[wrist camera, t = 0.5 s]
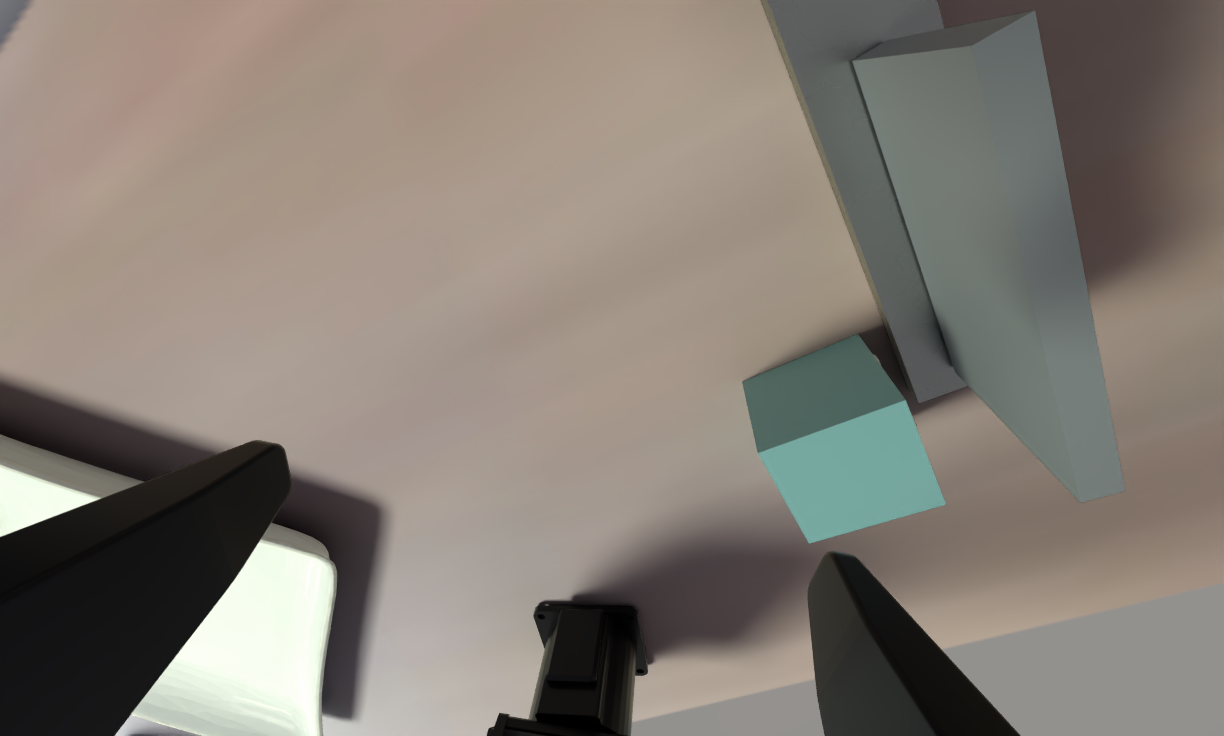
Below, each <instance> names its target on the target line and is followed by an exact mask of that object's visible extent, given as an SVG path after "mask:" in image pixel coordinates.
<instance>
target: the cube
mask: <svg viewBox="0 0 1224 736" xmlns="http://www.w3.org/2000/svg"><path fill="white" fill-rule="evenodd" d="M742 383H743V388H744V392H745V397H746V401H747V406H748V410H749V415H750V419H751V424H752V428H753V433H754V438H755V442H756V447H757V451H758V454H759V456H760V458H761V459H762V461H763V463H764V465H765V467H766V468H767V470H768V472H769V474H770V475H771V477H772V479H773V481H774V483H775V484H776V486H777V488H778V490H779V491H780V493H781V495H782V497H783V498H784V500H785V502H786V504H787V506H788V507H789V509H790V511H791V513H792V514H793V516H794V518H795V520H796V522H797V523H798V525H799V527H800V529H801V530H802V532H803V534H804V536H805V538H806V539H807V541H808V543H809V544H810V543H813V542H817V541H820V540H824V539H827V538H831V537H834V536H838V535H841V534H845V533H848V532H852V531H855V530H859V529H862V528H866V527H869V526H873V525H876V524H880V523H883V522H887V521H890V520H894V519H897V518H901V517H904V516H908V515H911V514H915V513H918V512H922V511H925V510H929V509H932V508H936V507H939V506H943V505H946V503H945V500H944V498H943V495H942V493H941V490H940V487H939V485H938V482H937V480H936V477H935V475H934V472H933V469H932V467H931V464H930V462H929V459H928V456H927V454H926V451H925V449H924V446H923V444H922V441H921V438H920V436H919V433H918V431H917V428H916V426H917V425H916V423H915V420H914V417H913V415H912V414H911V412H910V410H909V407H908V405H907V402H906V400H905V398H904V397H903V396H902V394H901V393H900V391H899V390H898V389H897V387H896V386H895V385H894V383H893V382H892V380H891V379H890V378H889V376H888V375H887V373H886V372H885V371H884V369H883V368H882V366H881V363H880V361H879V359H878V358H877V357H876V355H873V354H872V353H871V351H870V350H869V349H868V347H867V346H866V344H865V343H864V342H863V340H862V339H861V337H860V336H859V335H858V334H856V335H854V336H851V337H849V338H847V339H844V340H842V341H839V342H837V343H835V344H832V345H830V346H827V347H825V348H822V349H820V350H818V351H815V352H813V353H810V354H808V355H806V356H803V357H801V358H798V359H796V360H793V361H791V362H789V363H786V364H784V365H781V366H779V367H777V368H774V369H772V370H769V371H767V372H764V373H762V374H760V375H757V376H755V377H752V378H750V379H748V380H745V381H743V382H742Z"/></svg>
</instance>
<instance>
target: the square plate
mask: <svg viewBox="0 0 1224 736" xmlns="http://www.w3.org/2000/svg"><path fill="white" fill-rule="evenodd" d="M140 483H143V481H140V480H137V479H134V478H131V477H127V476H124V475H121V474H118V473H115V472H112V471H109V470H106V469H103V468H99V467H96V466H93V465H90V464H87V463H84V462H81V461H78V460H75V459H72V458H68V457H65V456H62V455H59V454H56V453H53V452H50V451H47V450H44V449H41V448H38V447H35V446H31V445H28V444H25V443H23V442H20V441H17V440H14V439H11V438H9V437H6V436H3V435H0V537H1V536H3V535H6V534H9V533H11V532H14V531H17V530H19V529H22V528H25V527H27V526H30V525H32V524H35V523H38V522H40V521H43V520H46V519H48V518H51V517H53V516H56V515H59V514H61V513H64V512H67V511H69V510H72V509H74V508H77V507H80V506H82V505H85V504H88V503H90V502H93V501H96V500H98V499H101V498H103V497H106V496H109V495H111V494H114V493H117V492H119V491H122V490H124V489H127V488H130V487H132V486H135V485H138V484H140ZM336 591H337V570H336V566H335V564H334V563H333V562H332V561H331V560H330V559H329V553H328V551H327V549H326V547H325V546H324V545H323V544H322V543H321V542H320V541H318V540H316V539H315V538H313V537H311V536H308V535H306V534H303V533H301V532H298V531H296V530H293V529H289V528H286V527H283V526H280V525H277V524H274V523H271V524H270V526H269V527H268V529H267V530H266V532H265V533H264V535H263V537H262V538H261V540H260V541H259V543H258V545H257V546H256V548H255V549H254V551H253V552H252V554H251V556H250V557H249V559H248V560H247V562H246V564H245V565H244V567H243V568H242V570H241V571H240V572H239V574H238V575H237V577H236V578H235V580H234V581H233V583H232V584H231V585H230V587H229V588H228V589H227V591H226V592H225V593H224V595H223V596H222V597H221V599H220V600H219V601H218V603H217V604H216V605H215V606H214V608H213V609H212V610H211V612H210V613H209V614H208V615H207V617H206V618H205V619H204V621H203V622H202V623H201V624H200V626H199V627H198V628H197V630H196V631H195V632H194V634H193V635H192V636H191V637H190V639H189V640H188V641H187V643H186V644H185V645H184V646H183V648H182V649H181V650H180V652H179V653H178V654H177V655H176V657H175V658H174V659H173V661H172V662H171V663H170V665H169V666H168V667H167V668H166V670H165V671H164V672H163V674H162V675H161V676H160V677H159V679H158V680H157V681H156V683H155V684H154V685H153V686H152V688H151V689H150V690H149V692H148V693H147V694H146V696H145V697H144V698H143V699H142V701H141V702H140V703H139V705H138V706H137V707H136V708H135V710H134V711H133V712H132V714H131V715H133V716H136V717H140V718H143V719H146V720H149V721H152V722H156V723H159V724H162V725H166V726H169V727H173V728H176V729H180V730H183V731H187V732H191V733H194V734H198V735H202V736H323V727H322V705H321V703H322V687H323V678H324V668H325V661H326V653H327V647H328V640H329V635H330V630H331V623H332V616H333V610H334V604H335V598H336Z"/></svg>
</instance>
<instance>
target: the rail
mask: <svg viewBox="0 0 1224 736" xmlns="http://www.w3.org/2000/svg"><path fill="white" fill-rule="evenodd" d="M761 2H762V5H763V8H764V10H765V13H766V16H767V18H768V21H769V23H770V26H771V29H772V31H773V34H774V37H775V39H776V42H777V44H778V47H779V50H780V52H781V55H782V58H783V60H784V63H785V65H786V68H787V71H788V73H789V76H790V79H791V81H792V84H793V86H794V89H795V92H796V94H797V97H798V100H799V102H800V105H801V107H802V110H803V113H804V115H805V118H806V121H807V123H808V126H809V128H810V131H811V134H812V136H813V139H814V142H815V144H816V147H817V149H818V152H819V155H820V157H821V160H822V163H823V165H824V168H825V170H826V173H827V176H828V178H829V181H830V184H831V186H832V189H833V191H834V194H835V197H836V199H837V202H838V205H839V207H840V210H841V213H842V215H843V218H844V220H845V223H846V226H847V228H848V231H849V234H850V236H851V239H852V241H853V244H854V247H855V249H856V252H857V255H858V257H859V260H860V262H861V265H862V268H863V270H864V273H865V276H866V278H867V281H868V283H869V286H870V289H871V291H872V294H873V297H874V299H875V302H876V304H877V307H878V310H879V312H880V315H881V318H882V320H883V323H884V325H885V328H886V331H887V333H888V336H889V339H890V341H891V344H892V346H893V349H894V352H895V354H896V357H897V360H898V362H899V365H900V367H901V370H902V373H903V375H904V378H905V381H906V383H907V386H908V389H909V391H910V392H911V393H912V395H913V396H914V397H915V399H916V400H917V401H918V403H921V402H924V401H927V400H930V399H933V398H936V397H938V396H941V395H944V394H947V393H950V392H953V391H955V390H958V389H961V388H964V387H967V386H968V385H967V384H966V383H965V382H964V381H963V380H962V379H961V378H960V377H959V376H958V375H957V374H956V373H955V371H954V368H953V365H952V362H951V359H950V356H949V353H948V350H947V347H946V344H945V341H944V338H943V334H942V331H941V328H940V325H939V322H938V319H937V316H936V313H935V310H934V307H933V304H932V301H931V298H930V295H929V292H928V289H927V286H926V283H925V280H924V277H923V274H922V271H921V268H920V265H919V262H918V259H917V256H916V253H915V250H914V247H913V244H912V241H911V238H910V234H909V231H908V228H907V225H906V222H905V219H904V216H903V213H902V210H901V207H900V204H899V201H898V198H897V195H896V192H895V189H894V186H893V183H892V180H891V177H890V174H889V171H888V168H887V165H886V162H885V159H884V156H883V153H882V150H881V147H880V144H879V141H878V138H877V134H876V131H875V128H874V125H873V122H872V119H871V116H870V113H869V110H868V107H867V104H866V101H865V98H864V95H863V92H862V89H861V86H860V83H859V80H858V77H857V74H856V71H855V68H854V65H853V62H852V61H853V60H855V59H856V58H858V57H860V56H861V55H863V54H865V53H866V52H868V51H870V50H871V49H873V48H875V47H876V46H878V45H880V44H882V43H883V42H885V41H887V40H890V39H895V38H900V37H905V36H910V35H915V34H920V33H925V32H930V31H935V30H940V29H944V25H943V21H942V17H941V13H940V9H939V5H938V1H937V0H761Z"/></svg>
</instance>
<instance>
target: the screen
mask: <svg viewBox="0 0 1224 736" xmlns="http://www.w3.org/2000/svg"><path fill="white" fill-rule="evenodd" d="M852 62H853V65H854V68H855V71H856V74H857V77H858V80H859V83H860V86H861V89H862V92H863V95H864V98H865V101H866V104H867V107H868V110H869V113H870V116H871V119H872V122H873V125H874V128H875V131H876V134H877V138H878V141H879V144H880V147H881V150H882V153H883V156H884V159H885V162H886V165H887V168H888V171H889V174H890V177H891V180H892V183H893V186H894V189H895V192H896V195H897V198H898V201H899V204H900V207H901V210H902V213H903V216H904V219H905V222H906V225H907V228H908V231H909V234H910V238H911V241H912V244H913V247H914V250H915V253H916V256H917V259H918V262H919V265H920V268H921V271H922V274H923V277H924V280H925V283H926V286H927V289H928V292H929V295H930V298H931V301H932V304H933V307H934V310H935V313H936V316H937V319H938V322H939V325H940V328H941V331H942V334H943V338H944V341H945V344H946V347H947V350H948V353H949V356H950V359H951V362H952V365H953V368H954V371H955V373H956V374H957V375H958V376H959V377H960V378H961V379H962V380H963V381H964V382H965V383H966V384H967V385H968V386H969V387H970V388H971V389H972V391H973V392H974V393H975V394H976V395H977V396H978V397H979V398H980V399H981V400H982V401H983V402H984V403H985V404H986V405H987V406H988V407H989V408H990V409H991V410H992V411H993V412H994V413H995V415H996V416H997V417H998V418H999V419H1000V420H1001V421H1002V422H1003V423H1004V424H1005V425H1006V426H1007V427H1008V428H1009V429H1010V430H1011V431H1012V432H1013V433H1014V434H1015V435H1016V436H1017V437H1018V439H1019V440H1020V441H1021V442H1022V443H1023V444H1024V445H1025V446H1026V447H1027V448H1028V449H1029V450H1030V451H1031V452H1032V453H1033V454H1034V455H1035V456H1036V457H1037V458H1038V459H1039V460H1040V461H1041V462H1042V464H1043V465H1044V466H1045V467H1046V468H1047V469H1048V470H1049V471H1050V472H1051V473H1052V474H1053V475H1054V476H1055V477H1056V478H1057V479H1058V480H1059V481H1060V482H1061V483H1062V484H1063V485H1064V486H1065V488H1066V489H1067V490H1068V491H1069V492H1070V493H1071V494H1072V495H1073V496H1074V497H1075V498H1076V499H1077V500H1078V501H1079V502H1080V503H1082V502H1086V501H1090V500H1094V499H1098V498H1101V497H1105V496H1109V495H1113V494H1116V493H1120V492H1124V491H1125V487H1124V481H1123V476H1122V471H1121V465H1120V460H1119V455H1118V449H1117V444H1116V439H1115V433H1114V428H1113V423H1112V417H1111V412H1110V407H1109V401H1108V396H1107V391H1106V385H1105V380H1104V375H1103V369H1102V364H1101V359H1100V353H1099V348H1098V343H1097V337H1096V332H1095V327H1094V321H1093V316H1092V311H1091V305H1090V300H1089V295H1088V289H1087V284H1086V279H1085V273H1084V268H1083V263H1082V257H1081V252H1080V247H1079V241H1078V236H1077V231H1076V225H1075V220H1074V215H1073V209H1072V204H1071V199H1070V193H1069V188H1068V183H1067V177H1066V172H1065V167H1064V161H1063V156H1062V151H1061V145H1060V140H1059V135H1058V129H1057V124H1056V119H1055V113H1054V108H1053V103H1052V97H1051V92H1050V87H1049V81H1048V76H1047V71H1046V65H1045V60H1044V55H1043V49H1042V44H1041V39H1040V33H1039V28H1038V23H1037V17H1036V12H1035V10H1033V11H1028V12H1023V13H1018V14H1014V15H1009V16H1004V17H999V18H994V19H989V20H984V21H979V22H974V23H969V24H964V25H959V26H954V27H950V28H945V29H940V30H935V31H930V32H925V33H920V34H915V35H910V36H905V37H900V38H895V39H890V40H887V41H885V42H883V43H882V44H880V45H878V46H876V47H875V48H873V49H871V50H870V51H868V52H866V53H865V54H863V55H861V56H860V57H858V58H856V59H855V60H853V61H852Z"/></svg>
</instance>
